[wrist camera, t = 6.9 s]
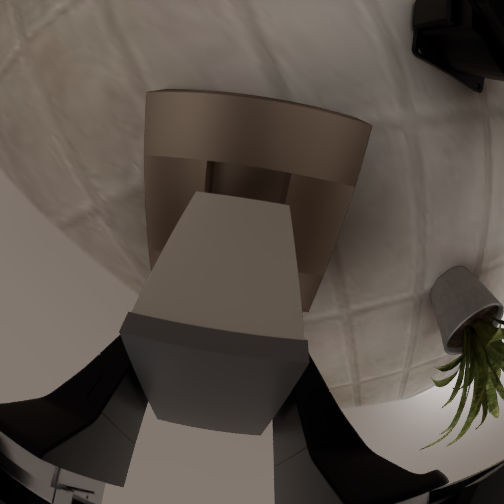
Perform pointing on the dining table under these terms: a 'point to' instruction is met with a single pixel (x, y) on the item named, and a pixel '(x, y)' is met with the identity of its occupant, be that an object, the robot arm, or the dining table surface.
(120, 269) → the dining table surface
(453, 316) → the house plant
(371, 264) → the dining table surface
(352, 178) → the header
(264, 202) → the plug
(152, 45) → the dining table surface
